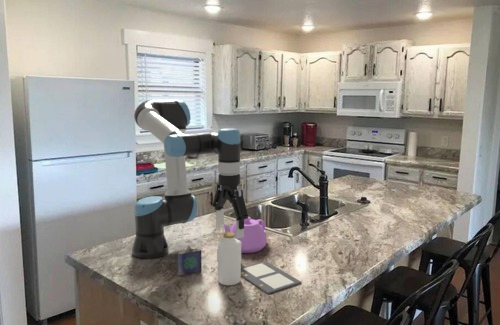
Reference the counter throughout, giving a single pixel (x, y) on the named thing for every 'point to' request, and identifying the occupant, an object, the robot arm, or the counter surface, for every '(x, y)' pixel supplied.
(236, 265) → the white bottle
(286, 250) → the counter surface
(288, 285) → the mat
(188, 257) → the flask
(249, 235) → the teapot
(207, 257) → the counter surface
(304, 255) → the counter surface
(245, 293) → the counter surface
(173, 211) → the robot arm
